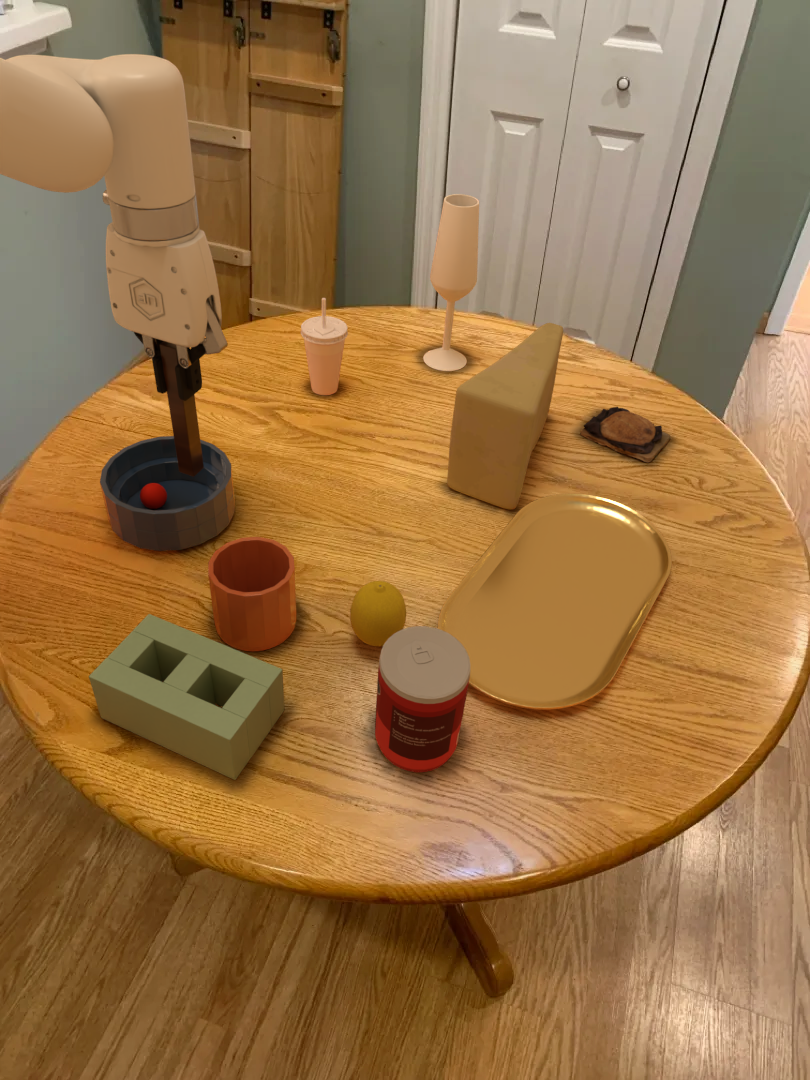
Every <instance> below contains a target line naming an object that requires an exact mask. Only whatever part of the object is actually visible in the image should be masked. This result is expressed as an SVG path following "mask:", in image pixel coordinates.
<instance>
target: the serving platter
mask: <svg viewBox="0 0 810 1080" xmlns="http://www.w3.org/2000/svg"><path fill="white" fill-rule="evenodd" d="M671 552H672V551H671V550H670V546H669V544H668V541H667V539H666V538H665V536H664V535H663V534H662V532H661V531H660V530H659V528H658V527H656V525H654V523H652V521H650V519H648V518H647V517H645V516H644V515H643V514H641V513H640V512H638V511H636V510H634V509H633V508H631V507H629V506H627V505H626V504H623V503H620V502H618V501H615V500H612V499H609V498H606V497H602V496H599V495H598V496H597V495H592V494H585V493H557V494H552V495H547V496H542V497H540V498H538V499H535V500H533V501H531V502H528V503H527V504H525V505H524V506H523V507H522V508H520V509H519V511H517V512H516V513H515V515H514V516H513V517H512V518H511V520H510V521H509V522H508V524H507V525H505V527H504V528H503V529H502V531H501V532H500V533H499V534H498V535H497V537H496V538H495V539H494V540H493V542H492V543H491V544H490V545H489V547H488V548H487V549H486V550H485V551H484V553H483V554H482V555H481V557H479V559H478V560H477V561H476V562H475V564H474V565H473V566H472V567H471V568H470V569H469V571H468V572H467V574H466V575H465V576H464V577H463V579H462V580H461V581H460V582H459V583H458V584H457V586H456V587H455V588H454V589H453V591H451V593H449V596H448V597H447V598H446V599H445V602H444V603H443V605H442V607H441V610H440V612H439V616H438V619H437V620H438V621H437V629H440V630H443V631H445V632H447V633H449V634H450V635H452V636H453V637H455V638H456V639H457V640H458V641H459V642H460V643H461V644H462V645H463V647H464V648H465V649H466V651H467V653H468V656H469V659H470V679H469V686H471V687H472V688H473V689H475V690H476V691H477V692H479V693H481V694H483V695H484V696H486V697H488V698H490V699H492V700H495V701H497V702H499V703H503V704H505V705H509V706H511V707H516V708H520V709H527V710H537V711H538V710H539V711H552V710H553V711H554V710H562V709H565V708H571V707H574V706H577V705H580V704H583V703H585V702H587V701H589V700H591V699H593V698H595V697H596V696H597V695H599V694H600V693H602V692H603V691H604V690H605V689H607V687H608V686H609V685H610V684H611V683H612V681H613V680H614V679H615V677H616V676H617V673H618V671H619V669H620V667H621V666H622V664H623V662H624V661H625V659H626V656H627V655H628V653H629V651H630V650H631V648H632V646H633V644H634V642H635V640H636V638H637V637H638V635H639V633H640V630H641V629H642V627H643V625H644V623H645V622H646V620H647V618H648V616H649V614H650V612H651V610H652V609H653V607H654V605H655V603H656V601H657V599H658V597H659V595H660V593H661V592H662V590H663V588H664V586H665V584H666V582H667V581H668V579H669V577H670V574H671V571H672V566H673V558H672V553H671Z"/></svg>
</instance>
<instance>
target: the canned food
mask: <svg viewBox="0 0 810 1080" xmlns="http://www.w3.org/2000/svg"><path fill="white" fill-rule="evenodd" d="M469 679H470V659H469V656H468V653H467V651H466V649H465V648H464V647H463V645H462V644H461V643H460V642H459V641H458V640H457V639H456V638H455V637H453V636H452V635H450V634H449V633H447V632H445V631H443V630H440V629H438V627H434V626H428V625H427V626H426V625H416V626H409V627H404V628H403V629H402V630H400V631H398V632H396V633H394V634H393V635H392V636H391V637H390V638H388V640H387V641H386V642H385V644H384V645H383V646H382V648H381V650H380V655H379V659H378V668H377V682H376V683H377V685H376V702H375V718H374V736H375V740H376V744H377V746H378V748H379V750H380V751H381V754H382V755H383V756H384V757H385V759H386V760H387V761H389V762H390V763H391V764H392V765H393V766H395V767H397V768H399V769H400V770H404V771H406V772H410V773H427V772H431V771H434V770H437V769H439V768H440V767H442V766H443V765H445V764H446V763H447V762H448V760H450V758H451V757H452V756H453V754H454V753H455V751H456V749H457V746H458V743H459V737H460V733H461V728H462V724H463V723H462V722H463V718H464V711H465V706H466V701H467V697H468V696H467V694H468V691H469V686H470V685H469Z"/></svg>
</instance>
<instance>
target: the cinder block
mask: <svg viewBox="0 0 810 1080" xmlns="http://www.w3.org/2000/svg"><path fill="white" fill-rule="evenodd" d="M283 672H284V671H283V669H282V668H281V667H278V666H276V665H274V664H271V663H269V662H266V661H264V660H261V659H259V658H257V657H254V656H252V655H249V654H247V653H244V652H242V651H241V650H239V649H236V648H234V647H231V646H229V645H225V644H223V643H221V642H219V641H216V640H213V639H211V638H208V637H206V636H204V635H201V634H199V633H196V632H194V631H192V630H189V629H187V628H185V627H182V626H180V625H177V624H175V623H173V622H170V621H168V620H165V619H163V618H161V617H158V616H155V615H153V614H151V613H148V614H147V615H146V616H145V617H144V618H143V619H142V620H141V621H140V622H139V623H138V624H137V626H135V627H134V629H133V630H132V631H131V632H130V633H129V634H128V635H127V636H126V637H125V638H124V639H123V640H122V641H121V642H120V643H119V645H118V646H117V647H116V648H115V649H113V650H112V651H111V653H109V654H108V656H107V657H106V658H105V659H103V661H102V662H101V663H99V665H98V666H97V667H95V669H94V670H93V671H92V672H91V673H90V674H89V675H88V679H89V681H90V685H91V688H92V693H93V695H94V699H95V702H96V706H97V710H98V713H99V716H100V719H102V720H105V721H107V722H109V723H111V724H113V725H115V726H118V727H119V728H122V729H124V730H126V731H129V732H131V733H132V734H134V735H136V736H139V737H141V738H143V739H146V740H148V741H150V742H151V743H155V744H156V745H158V746H160V747H162V748H165V749H168V750H170V751H171V752H173V753H175V754H177V755H180V756H182V757H185V758H186V759H189V760H191V761H193V762H195V763H198V764H199V765H202V766H204V767H206V768H208V769H210V770H213V771H215V772H217V773H219V774H221V775H223V776H225V777H227V778H230V779H232V780H234V781H236V780H237V779H238V777H239V776H240V774H241V773H242V771H243V770H244V768H245V767H246V766H247V764H248V763H249V761H250V760H251V759H252V758H253V756H254V754H255V753H256V751H257V750H258V749H259V748H260V746H261V745H262V743H263V742H264V740H265V739H266V737H267V736H268V734H269V733H270V732H271V730H272V728H273V727H274V726H275V724H276V723H277V722H278V720H279V719H280V718H281V716H282V714H283V713H284V712H285V710H286V709H285V707H286V706H285V692H284V691H285V690H284V689H285V688H284V673H283Z"/></svg>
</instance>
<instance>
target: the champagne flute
mask: <svg viewBox="0 0 810 1080" xmlns="http://www.w3.org/2000/svg"><path fill="white" fill-rule="evenodd" d="M479 223H480V200H479V199H478V198H476V197H475V196H472V195H470V194H469V195H468V194H463V193H454V194H448V195H446V196H445V197H444V198H443V202H442V208H441V214H440V219H439V223H438V230H437V236H436V240H435V246H434V253H433V257H432V263H431V269H430V273H429V279H430V280H429V281H430V283H431V285H432V288H433V289H434V290H435V292H436V293H438V295H439V296H440V297H441V298H443V300H445V301H446V307H445V317H444V326H443V336H442V346H441V347H437V348H434V349H431V350H429V351H426V352H425V353H424V355H423V357H422V359H423V362H424V364H426V365H427V366H428V367H430V368H432V369H434V370H438V371H444V372H452V371H458V370H461V369H462V368H464V367H465V366H466V365H467V362H468V361H467V360H468V359H467V358H466V356H465V355H464V354H463V353H461V352H459V351H458V350H456V349H453V348H452V347H451V345H452V343H451V342H452V335H453V334H452V333H453V325H454V317H455V316H454V315H455V308H456V307H455V306H456V302H458V301H460V300H461V299H463V298H465V297H466V296H467V295H469V294H470V293H471V292H472V291H473V289H474V288H475V286H476V285H477V282H478V262H479V261H478V260H479V259H478V258H479V229H480V228H479Z"/></svg>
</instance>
